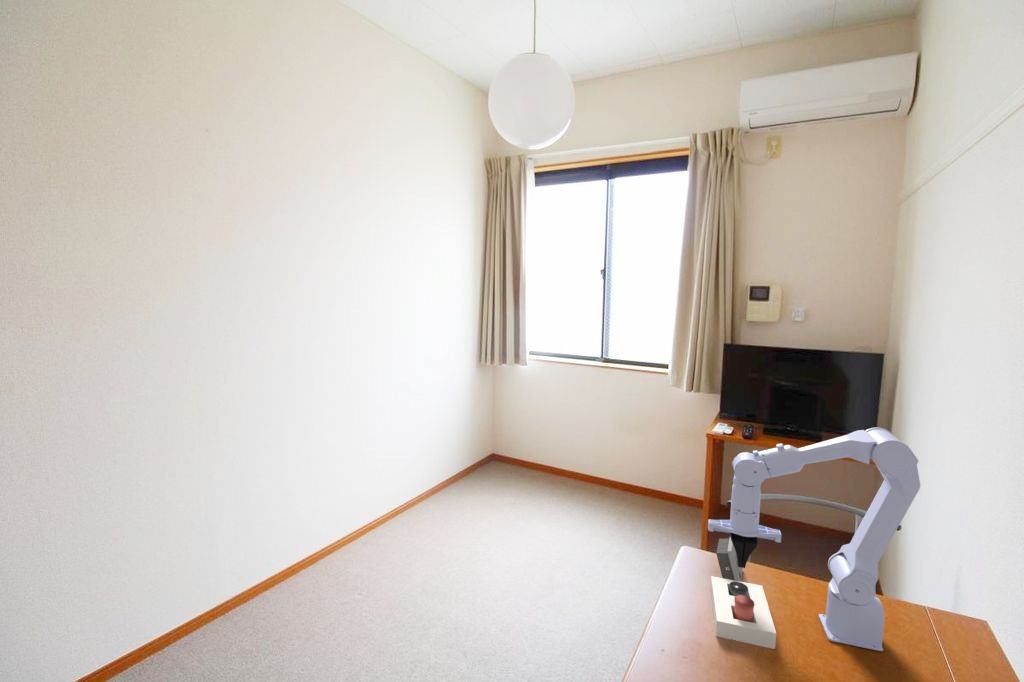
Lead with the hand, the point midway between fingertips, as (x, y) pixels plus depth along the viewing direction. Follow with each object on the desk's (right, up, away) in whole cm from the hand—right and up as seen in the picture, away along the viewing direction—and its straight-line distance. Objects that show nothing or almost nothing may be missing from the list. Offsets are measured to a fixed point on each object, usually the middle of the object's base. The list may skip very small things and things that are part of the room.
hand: (741, 565), depth 107 cm
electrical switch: (+3, -9, +13) cm, 16 cm away
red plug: (-2, -9, -6) cm, 11 cm away
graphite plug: (0, -10, +2) cm, 10 cm away
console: (-1, -11, -2) cm, 11 cm away
